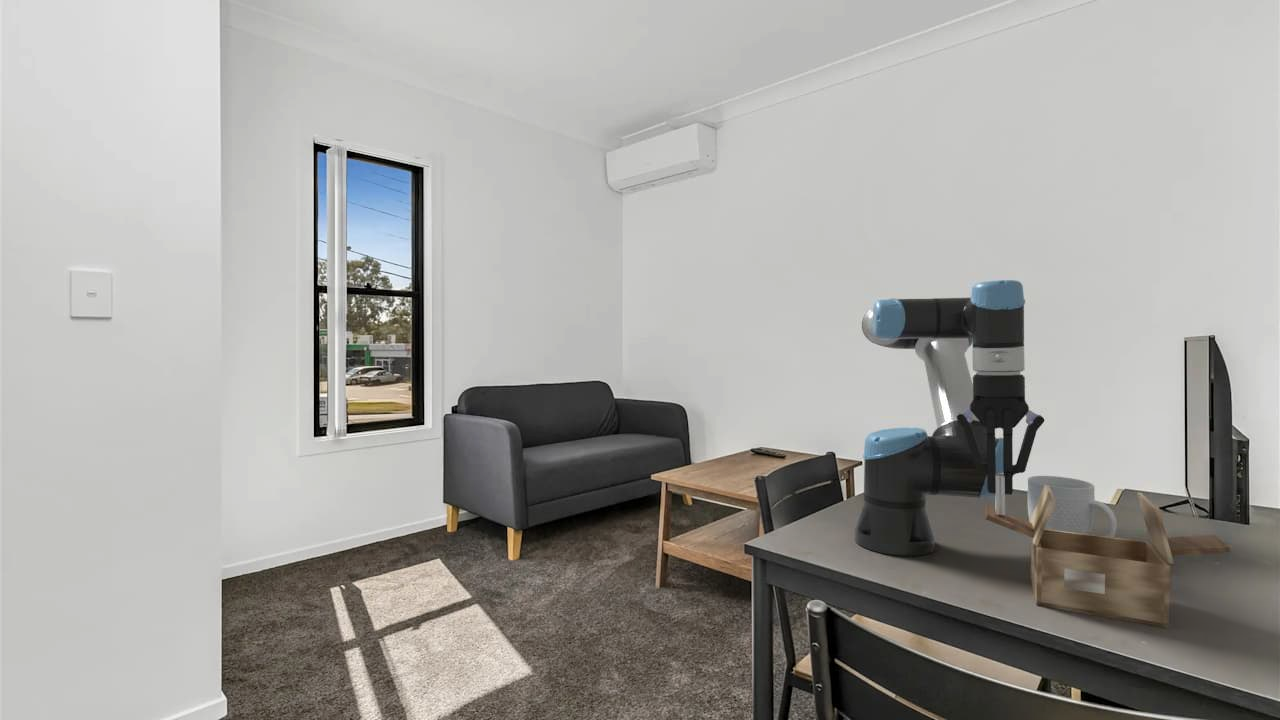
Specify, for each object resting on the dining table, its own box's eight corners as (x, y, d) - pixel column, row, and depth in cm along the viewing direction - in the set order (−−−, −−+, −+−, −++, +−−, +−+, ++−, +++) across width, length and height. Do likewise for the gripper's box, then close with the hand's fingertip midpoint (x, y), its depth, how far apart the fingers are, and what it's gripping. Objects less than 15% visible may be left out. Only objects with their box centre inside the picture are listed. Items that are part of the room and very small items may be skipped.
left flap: (1048, 485, 103) (999, 468, 107) (1056, 500, 94) (1002, 481, 97) (1031, 526, 105) (984, 508, 108) (1037, 545, 95) (985, 525, 98)
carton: (1036, 605, 95) (1037, 548, 95) (1030, 578, 105) (1031, 527, 105) (1168, 628, 87) (1170, 567, 87) (1147, 596, 98) (1149, 541, 97)
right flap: (1154, 509, 88) (1222, 504, 84) (1137, 492, 98) (1197, 487, 94) (1169, 563, 87) (1238, 560, 84) (1150, 540, 97) (1211, 537, 93)
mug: (1126, 554, 117) (1128, 487, 116) (1103, 566, 111) (1104, 495, 110) (1041, 533, 129) (1042, 473, 129) (1016, 543, 123) (1017, 480, 123)
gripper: (955, 374, 101) (957, 514, 102) (1046, 374, 95) (1048, 523, 96) (955, 372, 108) (957, 503, 108) (1041, 372, 102) (1042, 511, 102)
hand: (1000, 512), depth 102 cm, fingers closed
